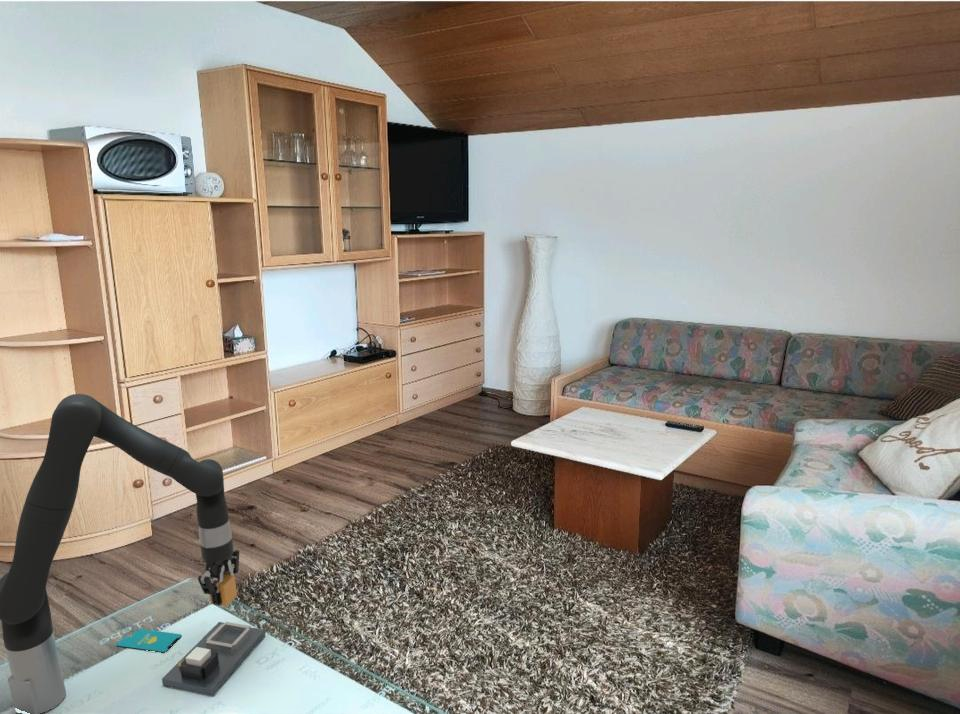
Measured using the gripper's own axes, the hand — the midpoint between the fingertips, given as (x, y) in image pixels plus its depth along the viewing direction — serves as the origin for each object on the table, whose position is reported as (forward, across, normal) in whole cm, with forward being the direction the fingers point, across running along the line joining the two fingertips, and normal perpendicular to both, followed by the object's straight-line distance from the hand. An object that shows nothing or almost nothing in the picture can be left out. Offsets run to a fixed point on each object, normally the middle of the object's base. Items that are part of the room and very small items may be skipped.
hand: (223, 597), depth 170 cm
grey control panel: (+14, +6, 0) cm, 15 cm away
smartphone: (+15, +4, -22) cm, 27 cm away
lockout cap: (+1, 0, 0) cm, 1 cm away
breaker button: (+12, +12, 0) cm, 16 cm away
